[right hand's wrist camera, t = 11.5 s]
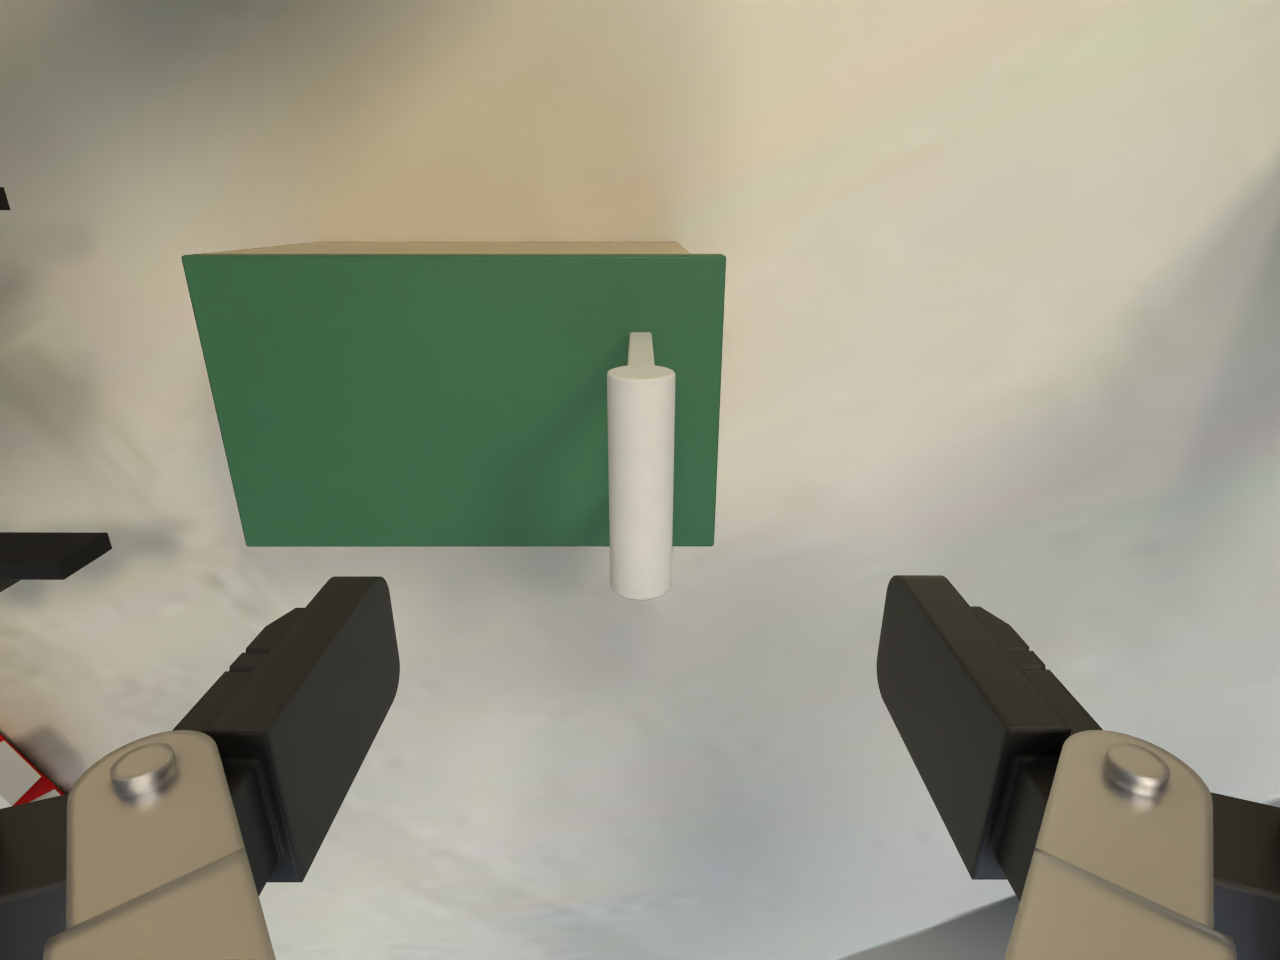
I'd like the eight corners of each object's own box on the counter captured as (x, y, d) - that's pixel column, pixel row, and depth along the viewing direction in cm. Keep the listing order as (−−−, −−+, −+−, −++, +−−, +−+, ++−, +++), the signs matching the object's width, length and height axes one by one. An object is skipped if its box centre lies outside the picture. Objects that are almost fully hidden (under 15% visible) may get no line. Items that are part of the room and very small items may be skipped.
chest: (678, 242, 30) (692, 253, 22) (674, 457, 34) (685, 535, 26) (316, 242, 30) (197, 253, 22) (350, 457, 34) (259, 536, 26)
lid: (723, 253, 22) (767, 276, 15) (711, 536, 26) (742, 673, 18) (196, 254, 22) (-37, 276, 14) (258, 536, 26) (97, 674, 18)
